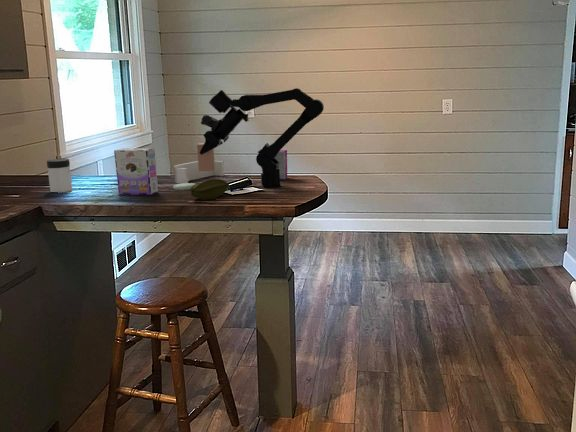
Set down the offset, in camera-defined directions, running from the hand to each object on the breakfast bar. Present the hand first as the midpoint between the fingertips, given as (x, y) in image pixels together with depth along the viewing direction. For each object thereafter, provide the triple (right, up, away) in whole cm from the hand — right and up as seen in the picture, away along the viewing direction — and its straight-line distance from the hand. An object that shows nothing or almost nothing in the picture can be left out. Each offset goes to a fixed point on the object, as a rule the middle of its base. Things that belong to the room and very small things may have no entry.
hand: (202, 152), depth 235 cm
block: (+2, -6, +1) cm, 7 cm away
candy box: (-23, -16, -4) cm, 28 cm away
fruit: (+5, -18, -18) cm, 26 cm away
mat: (-7, -13, +4) cm, 15 cm away
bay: (-4, -9, +22) cm, 24 cm away
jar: (-55, -14, +7) cm, 57 cm away
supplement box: (+29, -9, +15) cm, 34 cm away
